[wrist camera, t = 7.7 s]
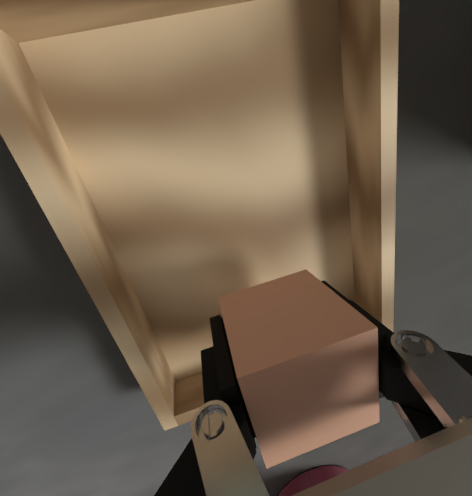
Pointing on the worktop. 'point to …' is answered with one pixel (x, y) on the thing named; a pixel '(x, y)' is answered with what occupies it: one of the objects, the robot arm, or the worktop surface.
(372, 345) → the terracotta block
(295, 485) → the plant pot
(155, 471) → the worktop surface
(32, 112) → the oak tray
